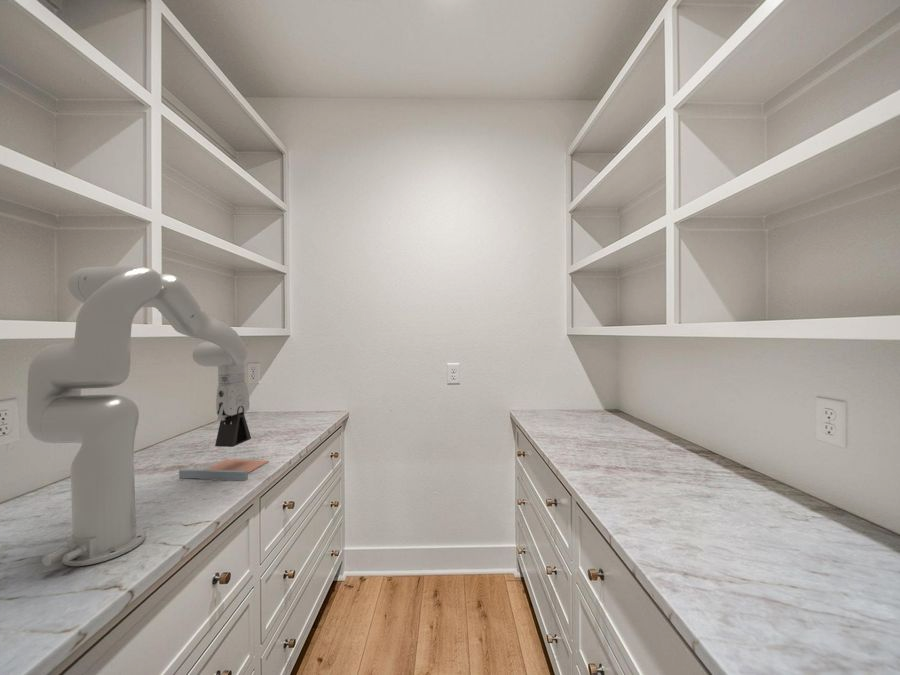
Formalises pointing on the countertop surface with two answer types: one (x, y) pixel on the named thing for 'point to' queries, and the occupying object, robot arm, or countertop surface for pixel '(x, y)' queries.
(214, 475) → the acrylic wall
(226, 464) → the mat
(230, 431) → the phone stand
